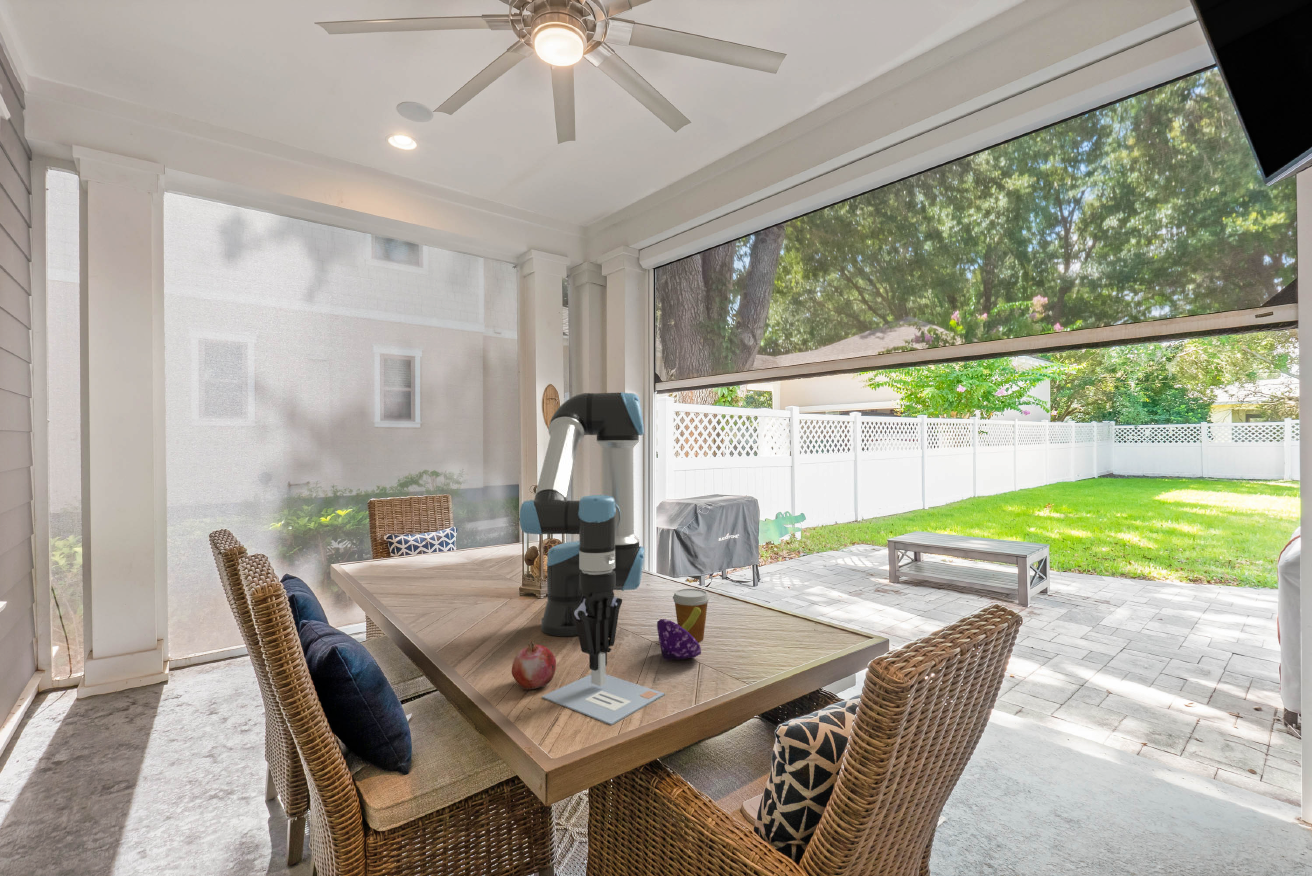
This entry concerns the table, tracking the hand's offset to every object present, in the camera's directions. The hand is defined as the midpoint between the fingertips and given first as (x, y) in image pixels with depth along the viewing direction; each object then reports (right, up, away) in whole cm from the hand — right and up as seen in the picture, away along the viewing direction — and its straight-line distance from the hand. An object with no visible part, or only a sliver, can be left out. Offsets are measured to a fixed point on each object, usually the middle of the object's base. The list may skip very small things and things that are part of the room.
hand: (598, 683), depth 124 cm
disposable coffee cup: (+21, -1, +31) cm, 37 cm away
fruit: (-14, -2, +2) cm, 14 cm away
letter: (+1, -1, -3) cm, 4 cm away
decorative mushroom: (+23, +10, +21) cm, 32 cm away
